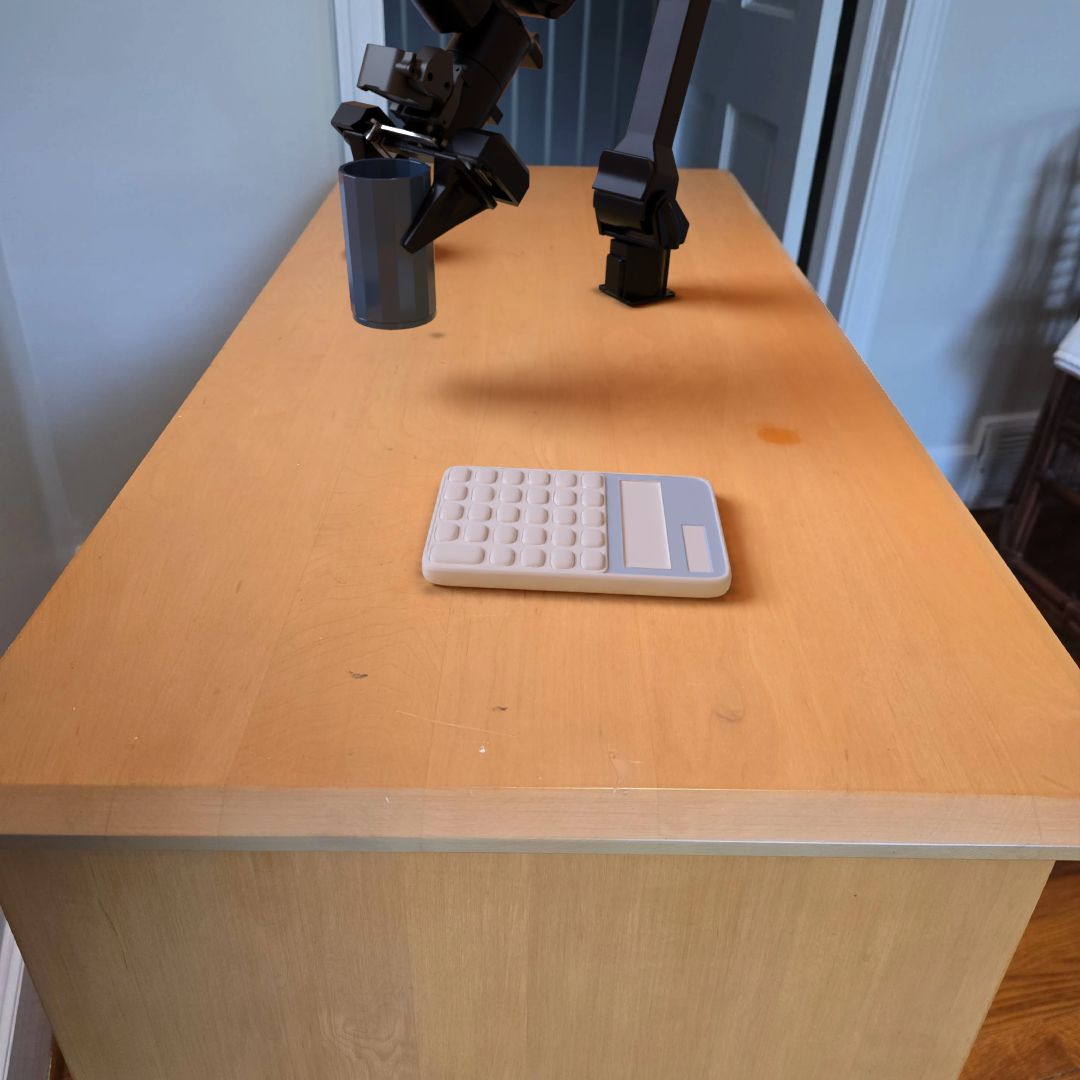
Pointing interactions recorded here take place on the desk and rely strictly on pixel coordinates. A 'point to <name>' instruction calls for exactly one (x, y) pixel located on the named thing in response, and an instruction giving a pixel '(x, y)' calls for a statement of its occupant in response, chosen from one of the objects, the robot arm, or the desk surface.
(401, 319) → the tumbler
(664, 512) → the calculator
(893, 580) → the desk surface
